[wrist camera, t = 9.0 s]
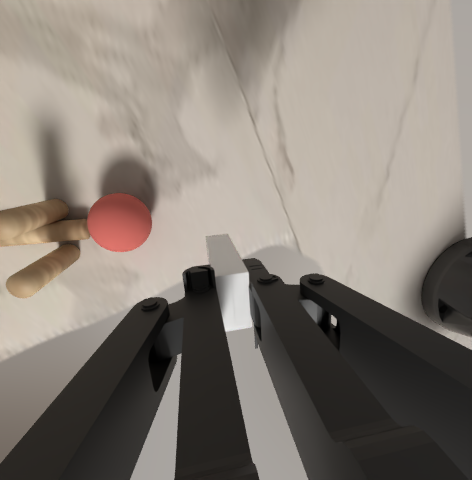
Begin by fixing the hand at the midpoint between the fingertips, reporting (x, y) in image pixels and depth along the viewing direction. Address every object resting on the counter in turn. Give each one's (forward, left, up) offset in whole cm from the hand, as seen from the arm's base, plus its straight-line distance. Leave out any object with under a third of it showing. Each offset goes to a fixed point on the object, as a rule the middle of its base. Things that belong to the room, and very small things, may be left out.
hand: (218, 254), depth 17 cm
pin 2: (+13, +9, -14) cm, 21 cm away
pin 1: (+15, +5, -14) cm, 21 cm away
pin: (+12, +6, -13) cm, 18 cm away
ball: (+8, +3, -11) cm, 14 cm away
